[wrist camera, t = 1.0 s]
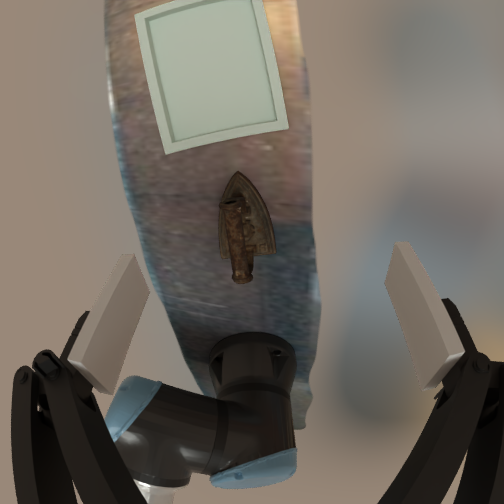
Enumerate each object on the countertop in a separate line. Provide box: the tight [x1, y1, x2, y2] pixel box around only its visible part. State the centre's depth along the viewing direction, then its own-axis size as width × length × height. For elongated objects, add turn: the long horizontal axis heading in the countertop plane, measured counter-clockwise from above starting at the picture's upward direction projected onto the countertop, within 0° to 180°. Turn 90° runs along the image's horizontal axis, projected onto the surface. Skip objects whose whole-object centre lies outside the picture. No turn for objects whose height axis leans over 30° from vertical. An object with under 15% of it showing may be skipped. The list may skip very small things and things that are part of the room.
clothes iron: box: [219, 171, 276, 284], centre depth 31 cm, size 7×11×10 cm, turn 8°
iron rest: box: [135, 0, 289, 154], centre depth 24 cm, size 17×13×2 cm
